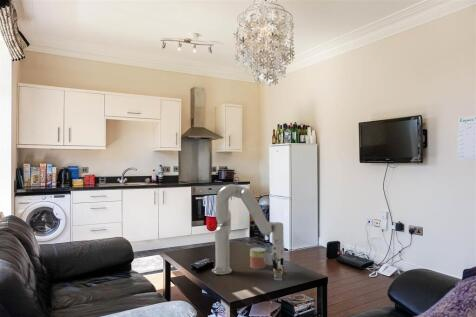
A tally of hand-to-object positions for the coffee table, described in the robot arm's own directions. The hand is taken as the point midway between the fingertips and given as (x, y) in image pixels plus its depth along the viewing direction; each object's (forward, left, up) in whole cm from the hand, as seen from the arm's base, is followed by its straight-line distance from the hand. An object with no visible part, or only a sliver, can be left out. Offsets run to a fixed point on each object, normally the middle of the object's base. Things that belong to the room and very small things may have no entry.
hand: (278, 266), depth 217 cm
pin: (0, 0, -4) cm, 4 cm away
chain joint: (0, 0, -4) cm, 4 cm away
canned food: (+6, +19, -5) cm, 20 cm away
